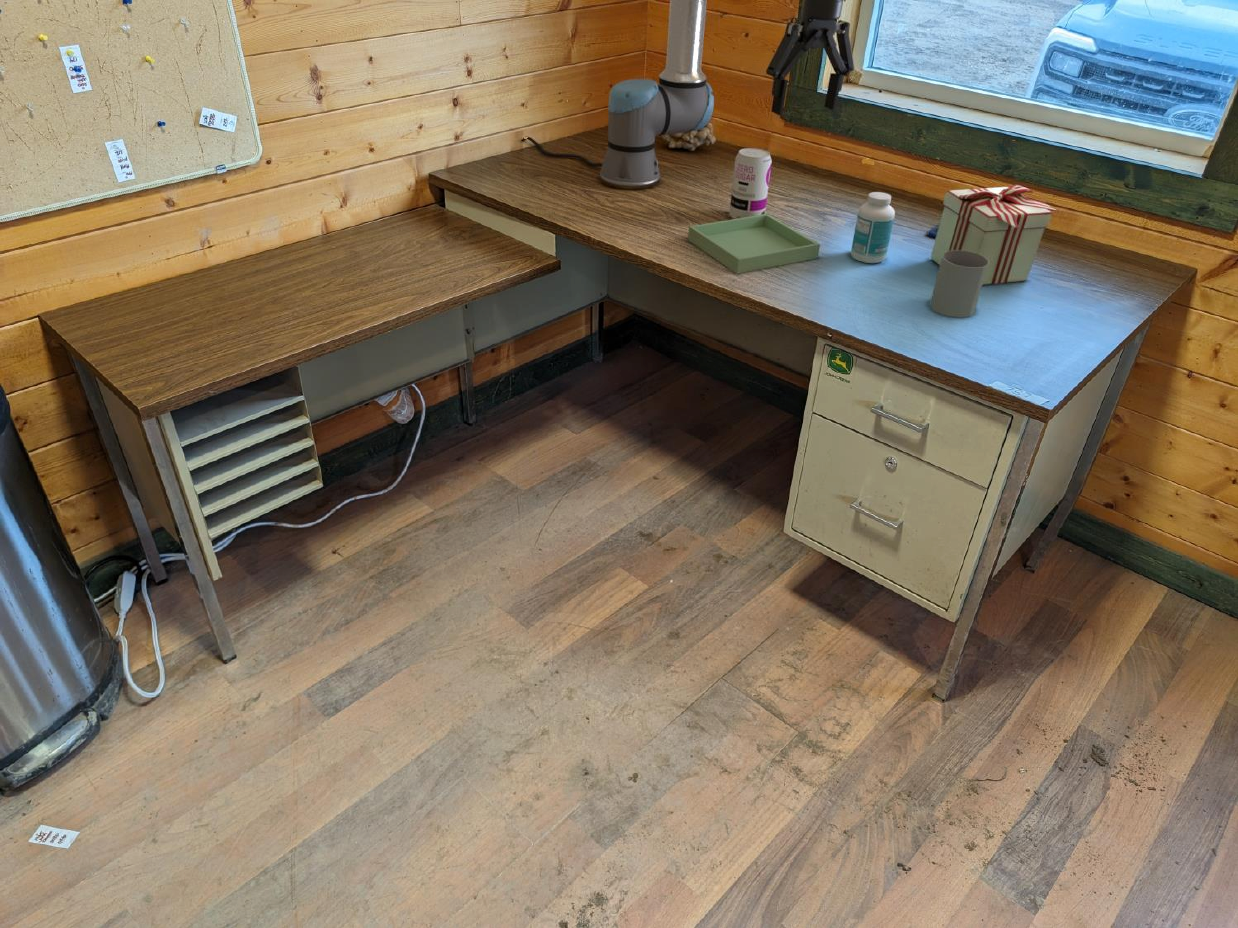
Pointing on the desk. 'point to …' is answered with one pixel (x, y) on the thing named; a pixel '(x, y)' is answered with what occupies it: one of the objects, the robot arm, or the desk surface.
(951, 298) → the cup
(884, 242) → the pill bottle
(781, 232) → the tray
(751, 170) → the supplement can
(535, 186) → the desk surface
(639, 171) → the robot arm
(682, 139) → the mineral formation
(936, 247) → the gift box
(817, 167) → the desk surface
